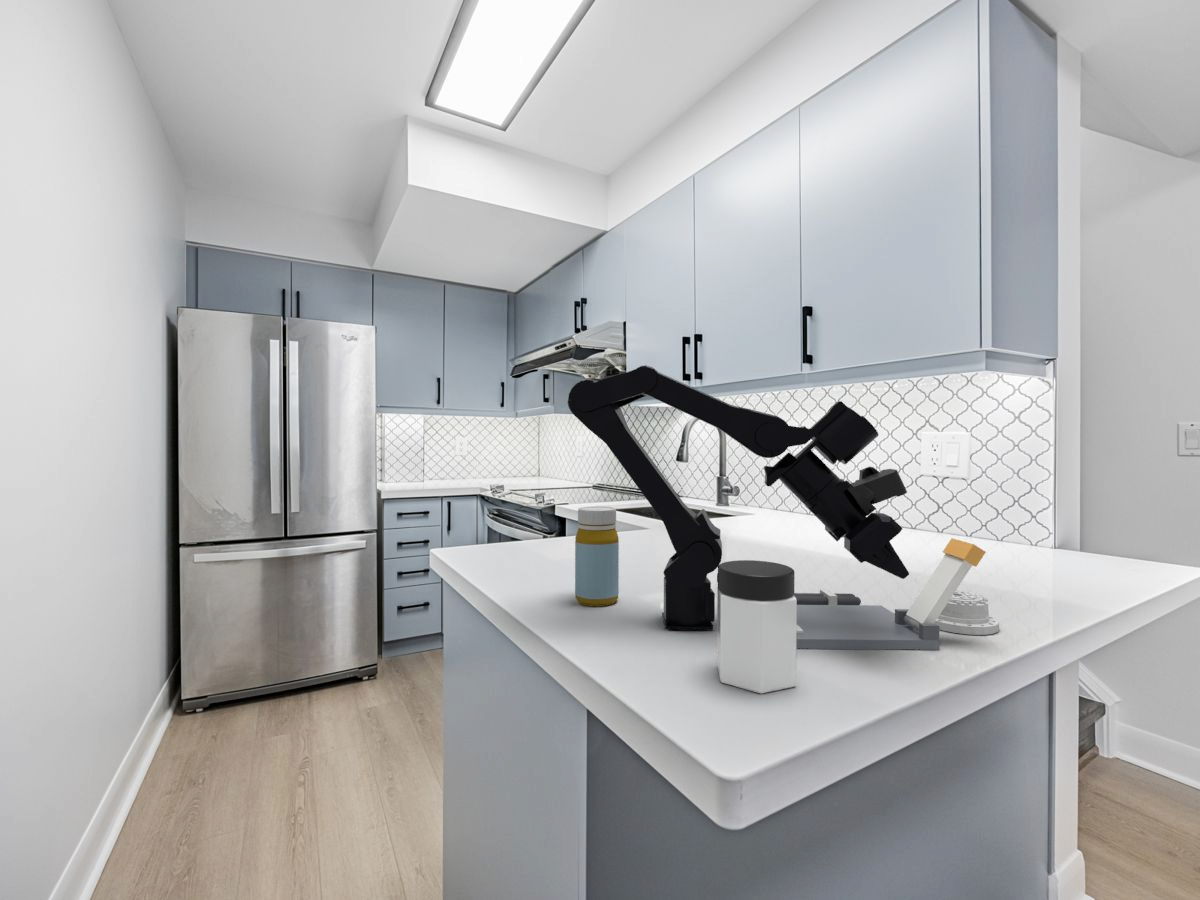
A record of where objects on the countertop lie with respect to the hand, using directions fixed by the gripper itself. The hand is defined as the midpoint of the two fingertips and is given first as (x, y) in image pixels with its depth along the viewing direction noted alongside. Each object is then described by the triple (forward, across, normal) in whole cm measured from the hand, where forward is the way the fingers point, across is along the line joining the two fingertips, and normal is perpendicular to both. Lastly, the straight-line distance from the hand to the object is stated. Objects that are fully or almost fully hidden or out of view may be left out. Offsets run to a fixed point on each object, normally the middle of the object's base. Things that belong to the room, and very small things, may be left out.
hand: (905, 576), depth 73 cm
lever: (+5, 0, +3) cm, 6 cm away
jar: (-8, -17, +20) cm, 27 cm away
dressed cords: (-2, +13, +14) cm, 19 cm away
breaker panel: (0, +2, +12) cm, 12 cm away
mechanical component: (+13, +9, 0) cm, 15 cm away
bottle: (-24, +8, +37) cm, 45 cm away
